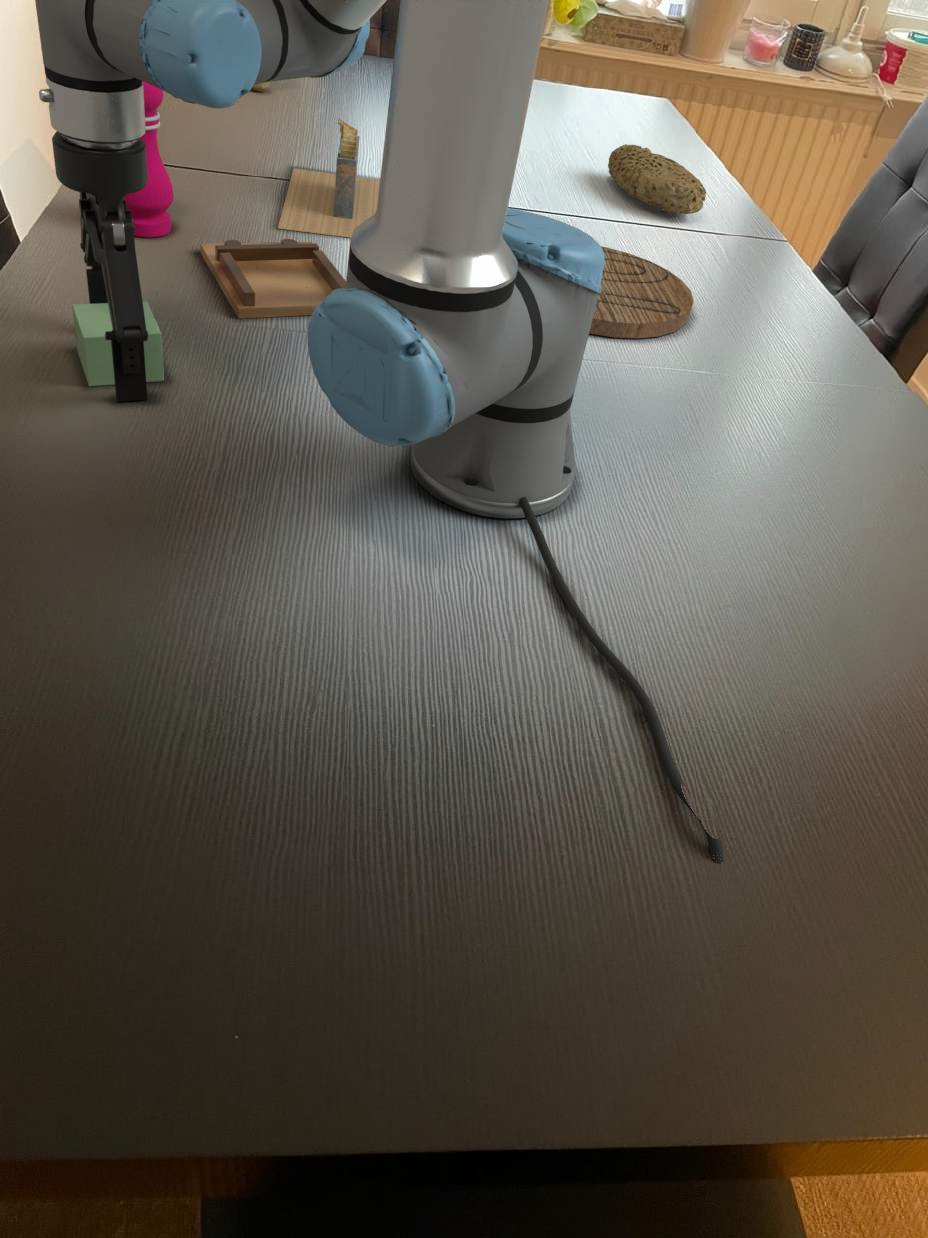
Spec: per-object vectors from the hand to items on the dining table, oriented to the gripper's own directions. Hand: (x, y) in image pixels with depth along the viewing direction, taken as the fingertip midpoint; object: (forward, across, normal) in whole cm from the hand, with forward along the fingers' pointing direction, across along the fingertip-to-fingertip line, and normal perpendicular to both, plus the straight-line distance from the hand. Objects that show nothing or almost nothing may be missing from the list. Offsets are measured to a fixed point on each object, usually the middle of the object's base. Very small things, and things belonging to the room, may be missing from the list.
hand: (118, 364), depth 97 cm
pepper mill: (0, -35, +9) cm, 36 cm away
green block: (0, 0, 0) cm, 0 cm away
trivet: (-1, -24, +66) cm, 71 cm away
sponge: (-4, -43, +91) cm, 101 cm away
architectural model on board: (0, -43, +38) cm, 57 cm away
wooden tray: (0, -18, +21) cm, 28 cm away
